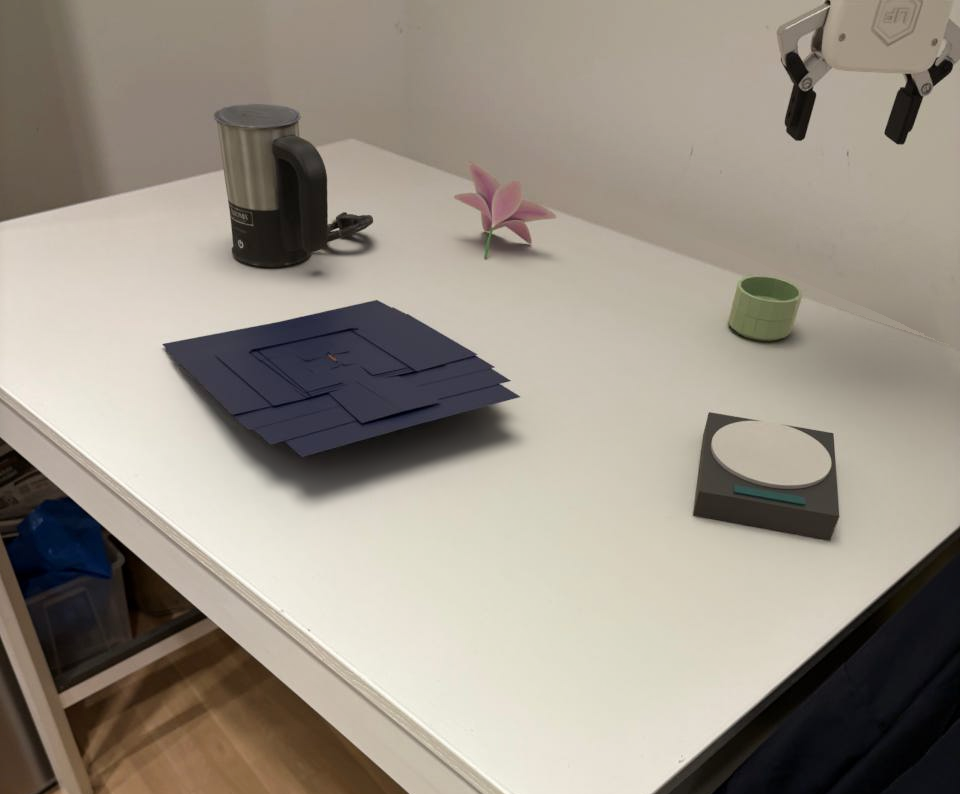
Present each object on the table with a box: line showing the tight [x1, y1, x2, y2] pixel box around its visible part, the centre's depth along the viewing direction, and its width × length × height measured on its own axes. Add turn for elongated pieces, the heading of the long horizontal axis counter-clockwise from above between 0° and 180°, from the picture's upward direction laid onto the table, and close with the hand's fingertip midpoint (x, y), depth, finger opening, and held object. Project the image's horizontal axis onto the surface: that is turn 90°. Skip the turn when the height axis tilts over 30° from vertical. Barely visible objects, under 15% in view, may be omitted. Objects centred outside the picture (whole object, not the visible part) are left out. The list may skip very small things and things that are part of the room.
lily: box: [453, 160, 558, 260], centre depth 112 cm, size 12×12×10 cm
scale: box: [692, 411, 840, 541], centre depth 79 cm, size 11×13×3 cm
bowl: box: [727, 274, 803, 342], centre depth 100 cm, size 7×7×5 cm
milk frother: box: [212, 102, 374, 268], centre depth 106 cm, size 14×16×15 cm
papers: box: [161, 299, 521, 458], centre depth 87 cm, size 24×30×4 cm
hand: (844, 138), depth 86 cm, fingers open, 9 cm apart
